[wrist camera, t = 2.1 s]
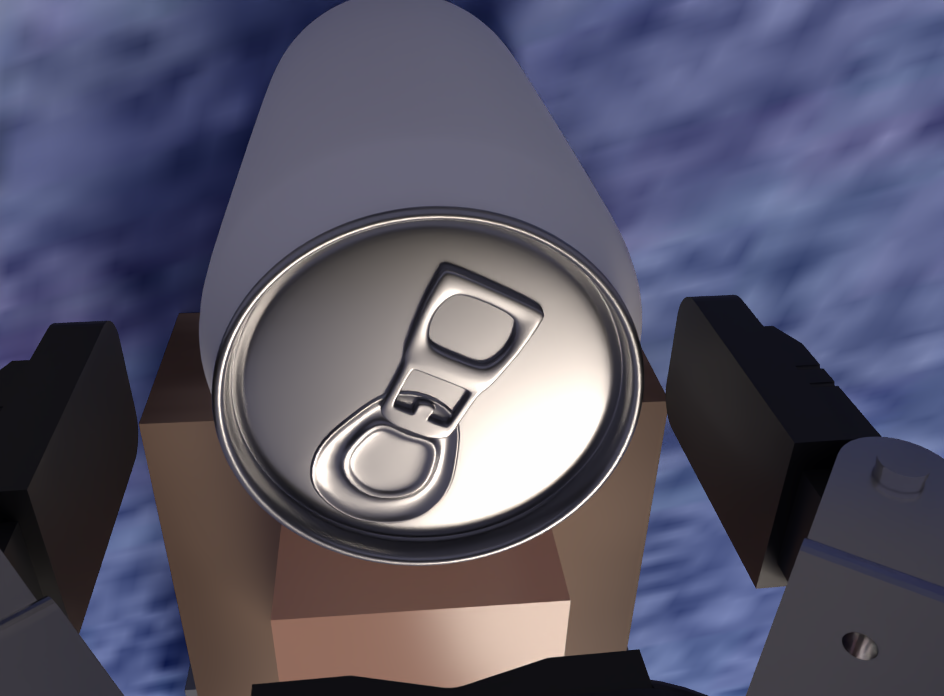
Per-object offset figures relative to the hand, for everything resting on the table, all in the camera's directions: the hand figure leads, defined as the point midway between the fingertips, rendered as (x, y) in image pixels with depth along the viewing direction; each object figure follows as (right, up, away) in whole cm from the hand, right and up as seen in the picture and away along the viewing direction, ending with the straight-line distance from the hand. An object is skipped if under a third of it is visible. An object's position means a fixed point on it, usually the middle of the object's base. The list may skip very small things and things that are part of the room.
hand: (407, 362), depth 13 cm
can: (-1, +6, +9) cm, 11 cm away
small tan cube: (-1, -5, +10) cm, 11 cm away
